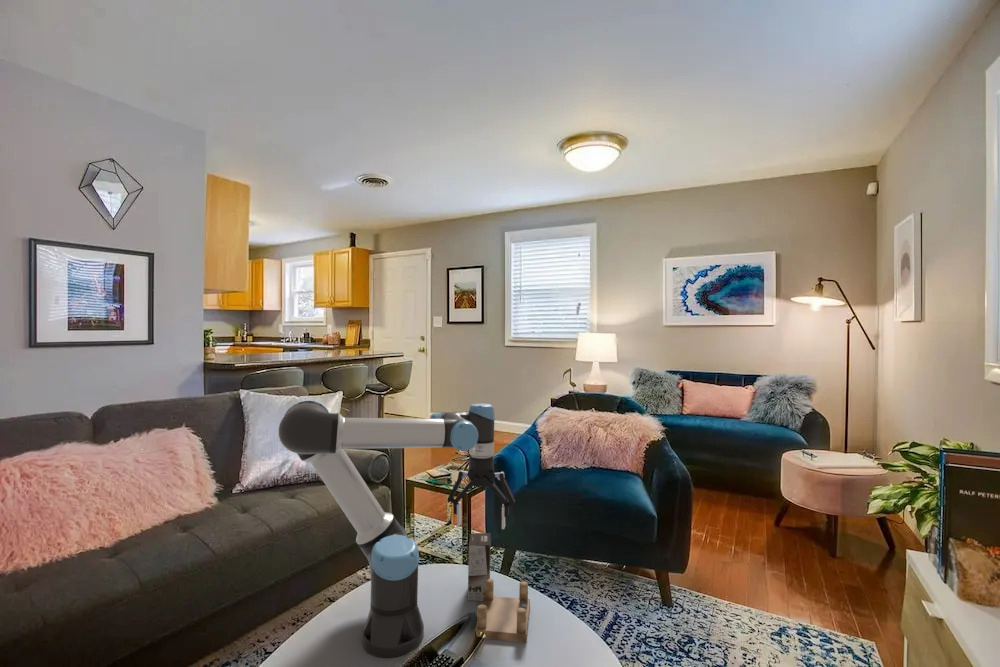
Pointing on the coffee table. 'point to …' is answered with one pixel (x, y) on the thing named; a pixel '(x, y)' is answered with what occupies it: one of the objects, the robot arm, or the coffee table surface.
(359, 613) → the coffee table surface
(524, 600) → the rounded tan peg
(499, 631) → the wooden peg stand
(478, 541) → the coffee box
